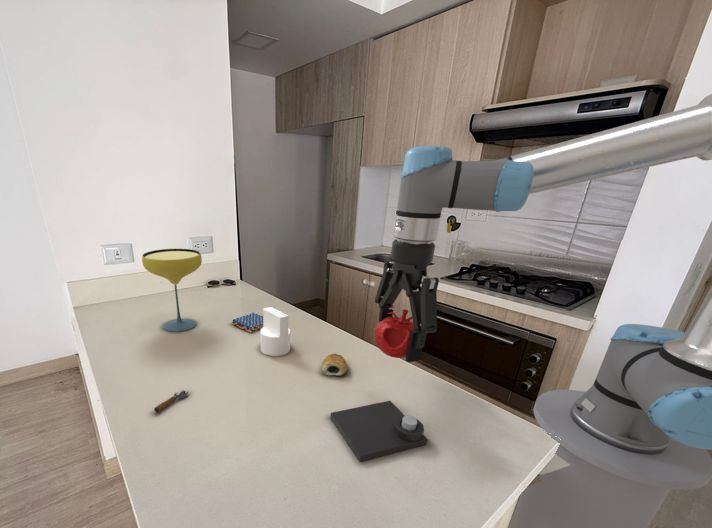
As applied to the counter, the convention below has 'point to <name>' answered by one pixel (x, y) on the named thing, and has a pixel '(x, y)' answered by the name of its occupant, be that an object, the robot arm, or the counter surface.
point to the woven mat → (249, 322)
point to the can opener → (170, 401)
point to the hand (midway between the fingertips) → (396, 348)
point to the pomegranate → (394, 335)
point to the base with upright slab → (274, 333)
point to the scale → (376, 430)
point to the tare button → (409, 423)
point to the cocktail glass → (173, 275)
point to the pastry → (334, 365)
